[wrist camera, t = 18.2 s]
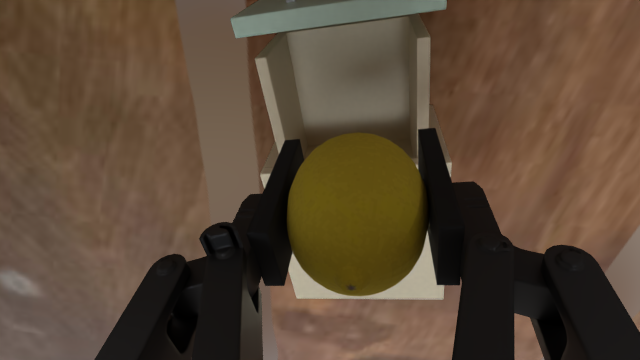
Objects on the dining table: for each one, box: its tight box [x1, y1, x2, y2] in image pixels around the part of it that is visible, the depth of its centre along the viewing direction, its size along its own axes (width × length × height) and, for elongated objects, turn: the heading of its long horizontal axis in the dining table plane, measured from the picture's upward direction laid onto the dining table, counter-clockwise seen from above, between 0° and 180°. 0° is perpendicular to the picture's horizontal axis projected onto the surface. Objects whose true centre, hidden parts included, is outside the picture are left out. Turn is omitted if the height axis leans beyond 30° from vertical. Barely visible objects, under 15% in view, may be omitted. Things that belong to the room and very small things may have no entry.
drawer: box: [230, 0, 447, 161], centre depth 26 cm, size 20×13×8 cm, turn 9°
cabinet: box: [260, 105, 452, 299], centre depth 34 cm, size 15×14×10 cm
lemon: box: [287, 132, 429, 296], centre depth 14 cm, size 6×6×8 cm
